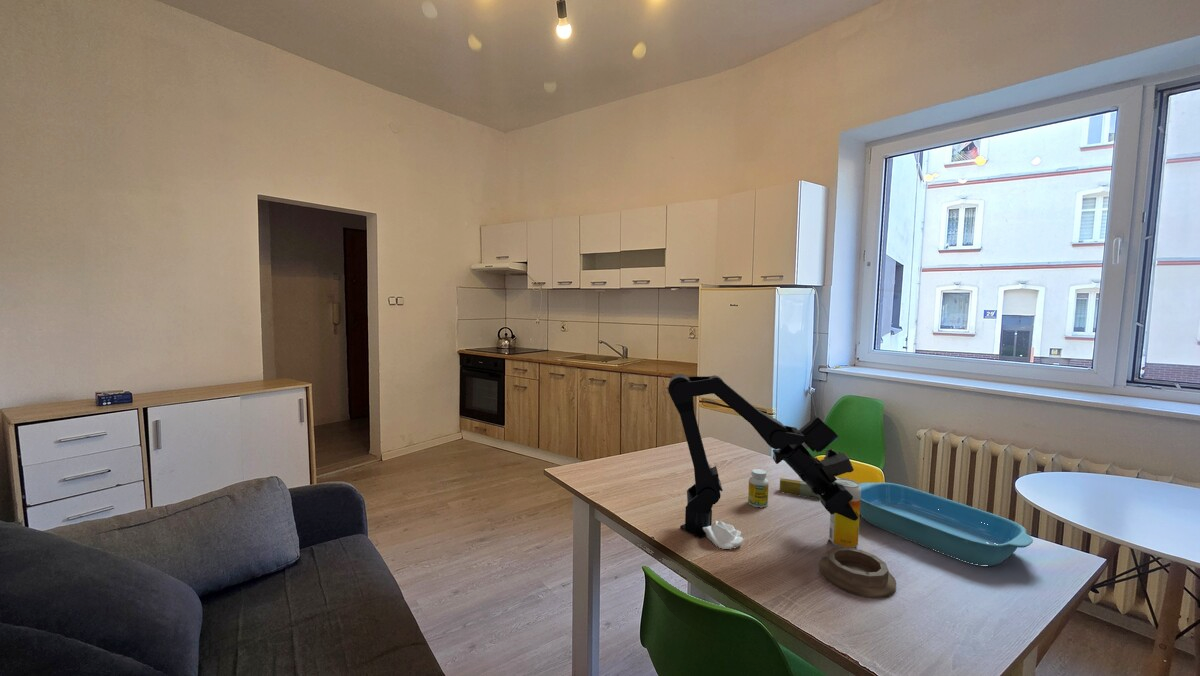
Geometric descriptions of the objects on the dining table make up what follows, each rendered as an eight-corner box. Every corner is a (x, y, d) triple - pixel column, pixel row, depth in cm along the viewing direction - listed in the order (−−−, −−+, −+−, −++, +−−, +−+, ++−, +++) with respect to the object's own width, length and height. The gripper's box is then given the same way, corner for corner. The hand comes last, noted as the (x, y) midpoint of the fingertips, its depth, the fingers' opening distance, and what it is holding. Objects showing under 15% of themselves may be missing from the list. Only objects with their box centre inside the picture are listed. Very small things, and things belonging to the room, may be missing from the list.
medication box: (822, 497, 138) (823, 483, 137) (822, 500, 135) (823, 486, 135) (779, 489, 142) (780, 477, 142) (779, 492, 140) (779, 479, 140)
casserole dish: (1044, 557, 106) (1047, 527, 105) (1009, 587, 94) (1011, 553, 93) (877, 499, 137) (878, 476, 136) (834, 516, 125) (836, 490, 124)
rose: (695, 523, 109) (710, 509, 117) (694, 541, 109) (709, 525, 117) (737, 536, 103) (750, 520, 111) (736, 555, 104) (749, 538, 111)
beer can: (863, 550, 106) (866, 487, 105) (836, 550, 107) (840, 487, 106) (849, 537, 112) (852, 477, 112) (824, 537, 113) (827, 477, 112)
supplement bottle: (762, 499, 134) (763, 467, 133) (771, 507, 129) (772, 474, 128) (744, 500, 133) (745, 468, 133) (753, 508, 128) (754, 475, 127)
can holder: (878, 607, 86) (880, 589, 86) (806, 572, 97) (807, 556, 97) (907, 581, 95) (908, 564, 94) (837, 552, 106) (838, 537, 105)
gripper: (845, 454, 99) (897, 509, 98) (818, 432, 118) (862, 477, 117) (804, 487, 101) (856, 540, 100) (785, 459, 120) (828, 504, 119)
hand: (851, 513), depth 109 cm, fingers closed on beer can, 6 cm apart
